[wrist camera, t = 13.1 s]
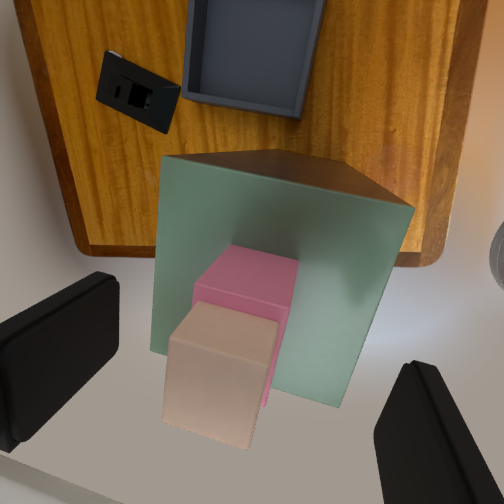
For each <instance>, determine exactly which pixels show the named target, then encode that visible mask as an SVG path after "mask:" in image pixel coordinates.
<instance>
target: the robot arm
mask: <svg viewBox="0 0 504 504" xmlns="http://www.w3.org/2000/svg"><path fill="white" fill-rule="evenodd" d="M119 289H120V286H119V282H118V281H116V278H115V276H113V275H110V274H106V273H103V272H98V271H97V272H94V273H92V274H90V275H88V276H87V277H85V278H83V279H81V280H79V281H77V282H76V283H74V284H72V285H70V286H68V287H66V288H65V289H63V290H61V291H59V292H57V293H56V294H53V295H52V296H50V297H48V298H46V299H44V300H42V301H41V302H39V303H37V304H35V305H33V306H31V307H30V308H28V309H26V310H24V311H22V312H20V313H18V314H17V315H15V316H13V317H11V318H9V319H7V320H6V321H4V322H2V323H0V450H2V451H5V452H7V453H10V452H11V451H12V450H13V449H14V448H15V447H17V446H18V445H19V444H20V443H21V442H25V441H27V440H29V439H30V438H31V437H32V436H33V435H34V434H35V433H36V432H37V431H38V430H39V429H40V428H41V427H42V426H43V425H44V424H45V423H46V422H47V421H48V420H49V419H50V418H51V417H52V416H53V415H54V414H55V413H56V412H57V411H58V410H59V409H61V408H62V407H63V406H64V405H65V403H67V401H69V400H70V399H71V398H72V396H73V395H74V394H76V393H77V392H78V391H79V390H80V389H81V388H82V387H83V386H84V385H85V384H86V383H87V382H88V381H89V380H90V379H91V378H92V377H93V376H94V375H95V374H96V373H97V372H98V371H99V370H100V369H101V368H102V367H103V366H104V365H105V364H106V363H107V362H108V361H109V360H110V359H111V358H112V357H113V356H114V355H115V353H116V352H117V350H118V347H119V294H120V293H119V291H120V290H119ZM374 445H375V450H376V457H377V463H378V469H379V475H380V481H381V487H382V493H383V499H384V504H504V498H503V495H502V494H501V492H500V490H499V488H498V486H497V484H496V482H495V480H494V478H493V476H492V474H491V472H490V470H489V468H488V466H487V464H486V462H485V460H484V458H483V456H482V454H481V452H480V450H479V449H478V447H477V445H476V443H475V441H474V439H473V437H472V435H471V433H470V431H469V429H468V427H467V425H466V423H465V421H464V419H463V417H462V415H461V413H460V411H459V409H458V407H457V406H456V404H455V402H454V400H453V398H452V396H451V394H450V392H449V390H448V388H447V386H446V384H445V382H444V380H443V378H442V376H441V374H440V372H439V370H438V369H437V367H436V366H434V365H430V364H427V363H423V362H419V361H415V360H413V361H412V362H411V363H410V364H408V363H405V364H404V365H403V367H402V369H401V371H400V373H399V375H398V378H397V380H396V382H395V384H394V386H393V388H392V391H391V393H390V395H389V397H388V399H387V402H386V404H385V406H384V408H383V410H382V412H381V415H380V417H379V419H378V421H377V424H376V426H375V429H374ZM0 504H122V503H119V502H117V501H114V500H112V499H110V498H107V497H105V496H102V495H100V494H97V493H95V492H93V491H90V490H87V489H85V488H83V487H80V486H78V485H75V484H73V483H70V482H68V481H65V480H63V479H60V478H58V477H55V476H53V475H50V474H48V473H45V472H42V471H40V470H38V469H35V468H33V467H30V466H28V465H25V464H22V463H20V462H18V461H15V460H12V459H10V458H8V457H5V456H3V455H0Z"/></svg>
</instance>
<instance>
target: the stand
mask: <svg viewBox="0 0 504 504" xmlns="http://www.w3.org/2000/svg"><path fill="white" fill-rule="evenodd" d="M414 211H415V208H414V207H413V206H411V205H410V204H408V203H407V202H405V201H403V200H402V199H400V198H399V197H397V196H396V195H394V194H393V193H391V192H390V191H388V190H387V189H385V188H383V187H382V186H380V185H379V184H377V183H376V182H374V181H373V180H371V179H370V178H368V177H367V176H365V175H363V174H362V173H360V172H359V171H357V170H356V169H354V168H353V167H351V166H350V165H348V164H347V163H345V162H341V161H336V160H330V159H325V158H320V157H315V156H310V155H304V154H299V153H294V152H289V151H284V150H278V149H267V150H250V151H233V152H217V153H200V154H183V155H166V156H162V157H161V171H160V188H159V205H158V222H157V240H156V257H155V274H154V292H153V308H152V325H151V342H150V351H153V352H156V353H159V354H162V355H166V356H167V354H168V342H169V337H170V335H171V334H172V333H173V332H174V330H175V329H176V328H177V327H178V325H179V324H180V323H181V322H182V320H183V319H184V318H185V316H186V315H187V314H188V313H189V311H190V310H191V308H192V299H193V290H194V284H195V282H196V281H197V280H198V279H199V278H200V277H201V276H202V275H203V273H204V272H205V271H206V270H207V269H208V268H209V267H210V266H211V265H212V264H213V263H214V261H215V260H216V259H217V258H218V257H219V256H220V255H221V254H222V253H223V252H224V251H225V249H226V248H227V247H228V246H229V245H230V244H233V245H237V246H241V247H245V248H249V249H253V250H257V251H262V252H266V253H270V254H274V255H278V256H282V257H286V258H290V259H295V260H298V261H299V265H298V270H297V276H296V281H295V286H294V292H293V297H292V303H291V308H290V313H289V316H288V320H287V324H286V328H285V332H284V336H283V340H282V344H281V348H280V351H279V355H278V359H277V363H276V367H275V371H274V375H273V379H272V383H271V386H270V388H274V389H277V390H280V391H283V392H287V393H290V394H293V395H297V396H300V397H303V398H307V399H310V400H313V401H316V402H319V403H323V404H326V405H329V406H333V407H336V408H339V407H340V405H341V402H342V399H343V397H344V394H345V392H346V389H347V387H348V384H349V381H350V378H351V376H352V373H353V371H354V368H355V366H356V363H357V360H358V358H359V355H360V352H361V349H362V347H363V344H364V342H365V339H366V337H367V334H368V332H369V329H370V326H371V324H372V321H373V318H374V316H375V313H376V311H377V308H378V305H379V302H380V300H381V298H382V295H383V292H384V289H385V287H386V284H387V282H388V279H389V276H390V274H391V271H392V269H393V266H394V263H395V261H396V258H397V256H398V253H399V250H400V248H401V245H402V243H403V240H404V237H405V235H406V232H407V229H408V227H409V224H410V222H411V219H412V216H413V214H414Z"/></svg>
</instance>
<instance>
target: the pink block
mask: <svg viewBox="0 0 504 504" xmlns="http://www.w3.org/2000/svg"><path fill="white" fill-rule="evenodd" d="M298 265H299V261H298V260H295V259H290V258H286V257H282V256H278V255H274V254H270V253H266V252H262V251H257V250H253V249H249V248H245V247H241V246H237V245H233V244H230V245H229V246H228V247H227V248H226V249H225V251H224V252H223V253H222V254H221V255H220V256H219V257H218V258H217V259H216V260H215V261H214V263H213V264H212V265H211V266H210V267H209V268H208V269H207V270H206V271H205V272H204V273H203V275H202V276H201V277H200V278H199V279H198V280H197V281H196V282H195V284H194V290H193V299H192V308H191V310H190V311H189V313H188V314H187V315H186V316H185V318H184V319H183V320H182V322H181V323H180V324H179V325H178V327H177V328H176V329H175V330H174V332H173V333H172V334H171V335H170V337H169V342H168V354H167V365H166V377H165V390H164V402H163V412H162V421H163V422H164V423H167V424H170V425H173V426H175V427H178V428H182V429H184V430H187V431H190V432H193V433H196V434H199V435H202V436H205V437H208V438H211V439H214V440H217V441H220V442H223V443H226V444H229V445H232V446H235V447H238V448H241V449H244V450H248V449H249V448H250V444H251V441H252V437H253V433H254V429H255V425H256V421H257V417H258V412H259V409H260V406H261V407H265V406H266V402H267V398H268V394H269V390H270V386H271V383H272V379H273V375H274V371H275V367H276V363H277V359H278V355H279V351H280V348H281V344H282V340H283V336H284V332H285V328H286V324H287V320H288V316H289V313H290V308H291V303H292V297H293V292H294V286H295V281H296V276H297V270H298Z"/></svg>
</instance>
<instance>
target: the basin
mask: <svg viewBox="0 0 504 504" xmlns="http://www.w3.org/2000/svg"><path fill="white" fill-rule="evenodd" d="M326 3H327V0H189V3H188V16H187V29H186V42H185V55H184V68H183V81H182V94H181V97H182V98H185V99H188V100H190V101H193V102H196V103H202V104H208V105H214V106H219V107H225V108H231V109H236V110H242V111H248V112H253V113H259V114H265V115H270V116H276V117H282V118H287V119H293V120H299V121H301V119H302V114H303V110H304V105H305V100H306V96H307V91H308V86H309V82H310V77H311V72H312V68H313V63H314V58H315V54H316V49H317V45H318V40H319V35H320V31H321V26H322V21H323V17H324V12H325V7H326Z"/></svg>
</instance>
